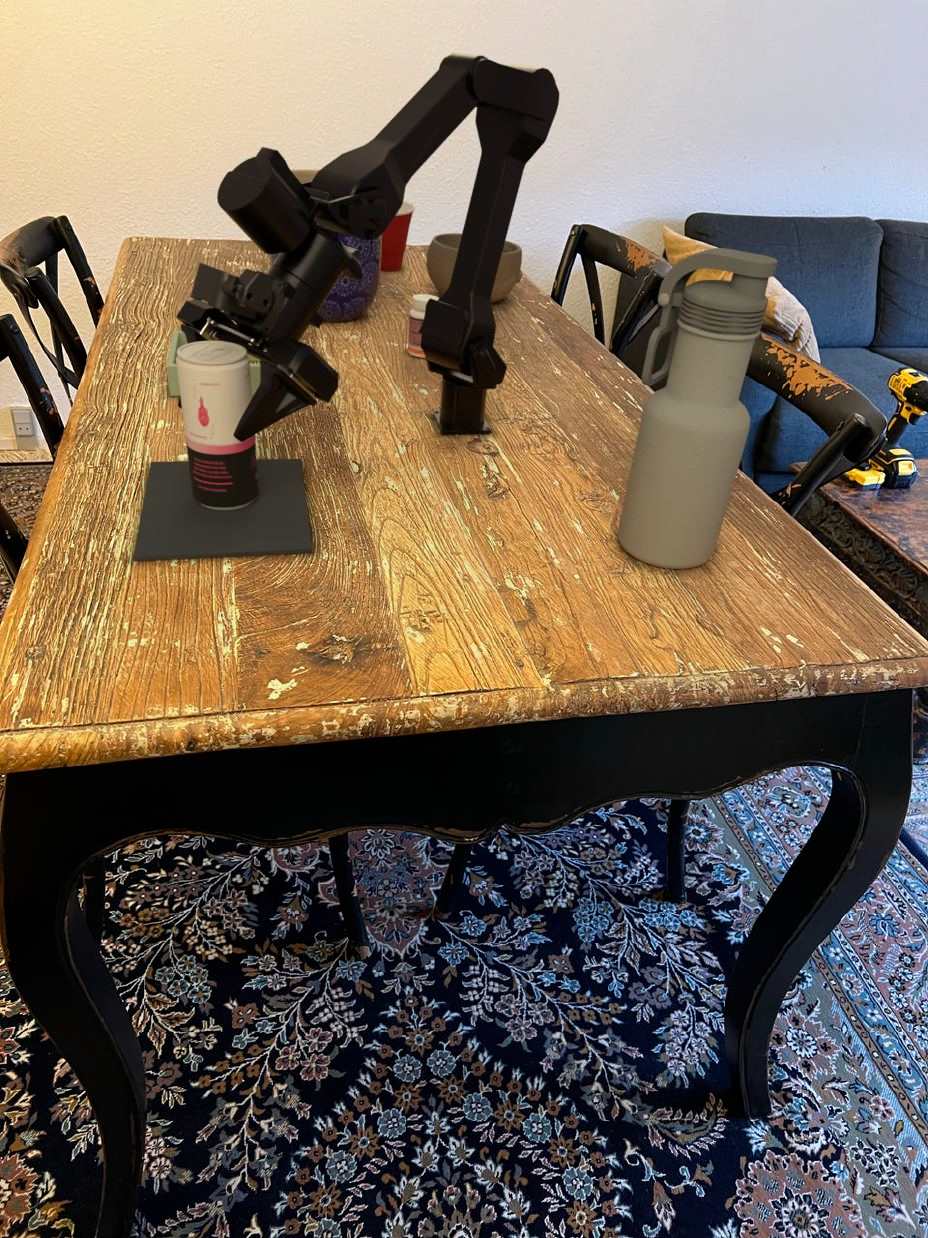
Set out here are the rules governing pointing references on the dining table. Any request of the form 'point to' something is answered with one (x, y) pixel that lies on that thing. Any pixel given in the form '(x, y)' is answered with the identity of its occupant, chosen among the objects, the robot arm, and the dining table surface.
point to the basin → (171, 366)
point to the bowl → (444, 258)
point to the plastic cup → (396, 238)
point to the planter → (348, 292)
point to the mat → (223, 516)
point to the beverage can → (217, 423)
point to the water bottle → (694, 410)
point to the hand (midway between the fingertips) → (208, 423)
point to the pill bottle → (417, 323)
